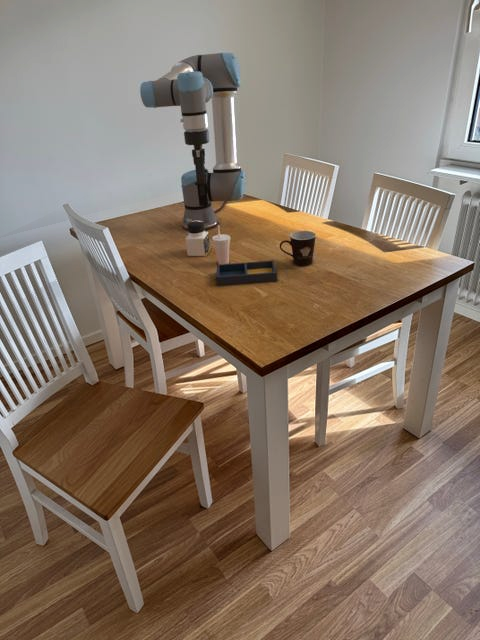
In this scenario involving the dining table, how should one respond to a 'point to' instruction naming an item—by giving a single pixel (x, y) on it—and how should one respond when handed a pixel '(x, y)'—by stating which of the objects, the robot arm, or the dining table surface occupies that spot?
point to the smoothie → (222, 247)
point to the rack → (246, 273)
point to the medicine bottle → (197, 239)
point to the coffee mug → (301, 247)
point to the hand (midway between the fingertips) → (203, 199)
